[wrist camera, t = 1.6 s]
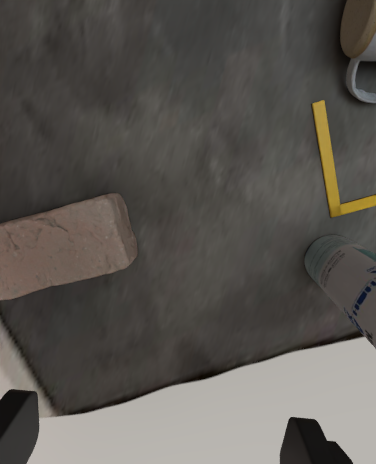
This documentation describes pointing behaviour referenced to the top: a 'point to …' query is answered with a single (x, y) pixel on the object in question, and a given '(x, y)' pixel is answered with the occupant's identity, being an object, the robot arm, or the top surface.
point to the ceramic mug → (359, 41)
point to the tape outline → (329, 167)
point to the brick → (65, 245)
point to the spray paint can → (346, 279)
